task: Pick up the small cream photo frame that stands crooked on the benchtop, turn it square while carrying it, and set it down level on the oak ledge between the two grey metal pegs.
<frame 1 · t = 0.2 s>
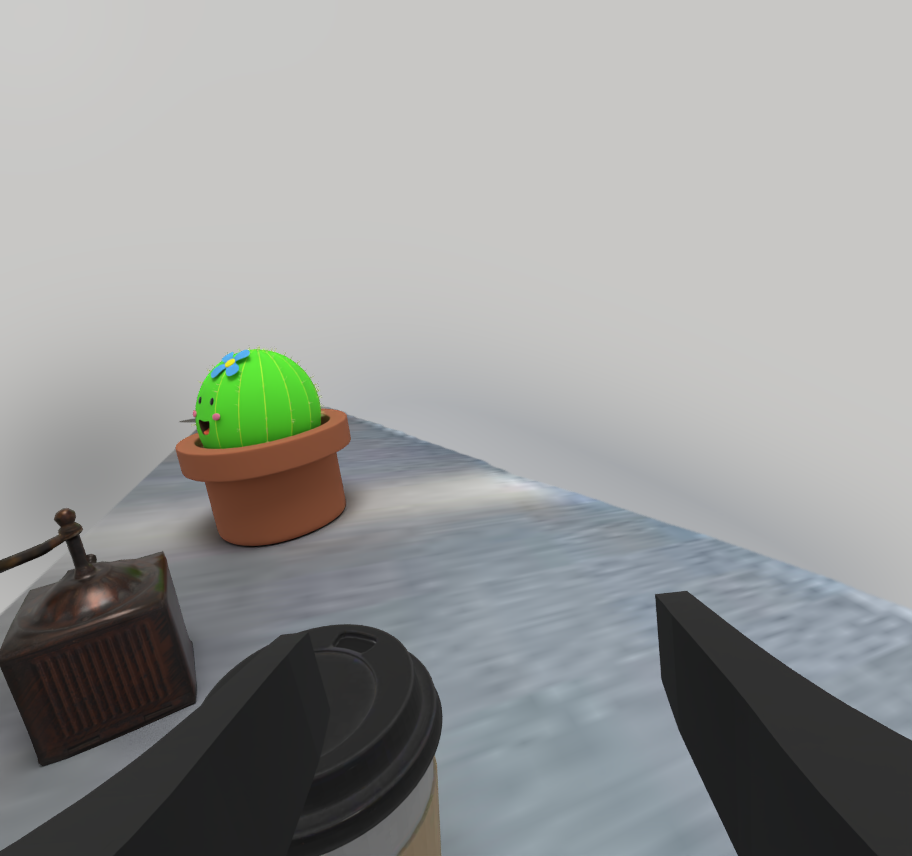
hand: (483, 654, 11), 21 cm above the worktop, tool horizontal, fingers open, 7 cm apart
pepper mill: (91, 708, 43), on the worktop
potted cactus: (284, 520, 76), on the worktop
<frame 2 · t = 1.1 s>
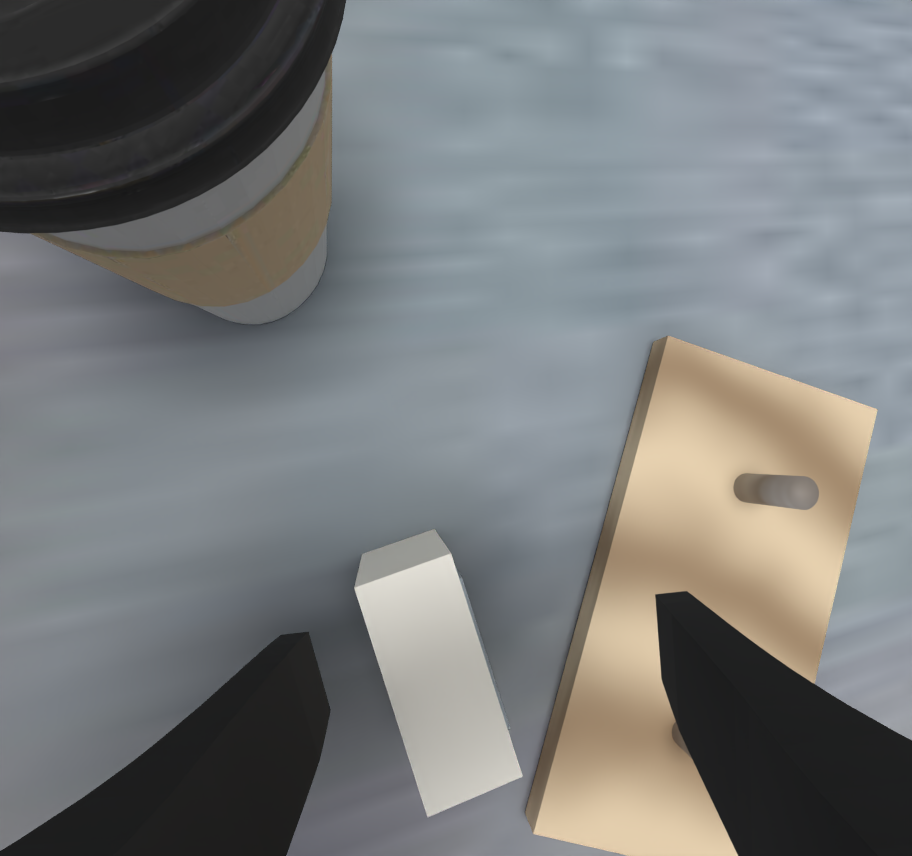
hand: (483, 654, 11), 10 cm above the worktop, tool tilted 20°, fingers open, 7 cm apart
coffee cup: (249, 254, 21), on the worktop
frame: (425, 624, 21), on the worktop
ledge: (699, 599, 23), on the worktop
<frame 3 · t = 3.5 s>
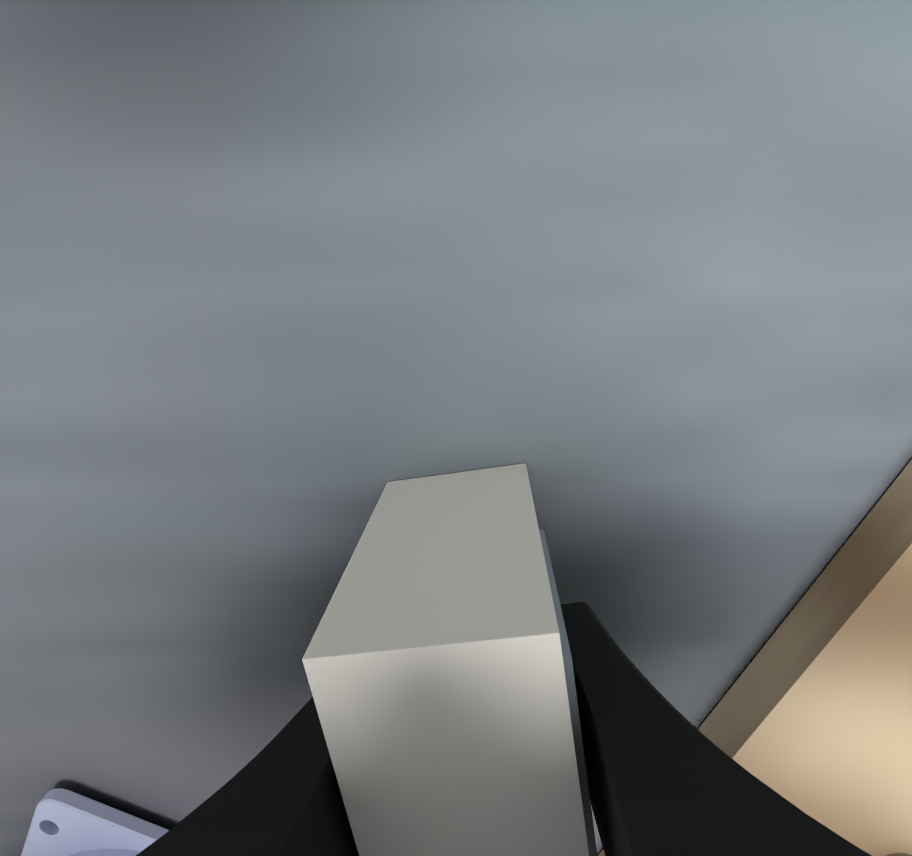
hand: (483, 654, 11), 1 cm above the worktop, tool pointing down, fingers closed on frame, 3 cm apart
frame: (480, 613, 12), on the worktop, touching gripper
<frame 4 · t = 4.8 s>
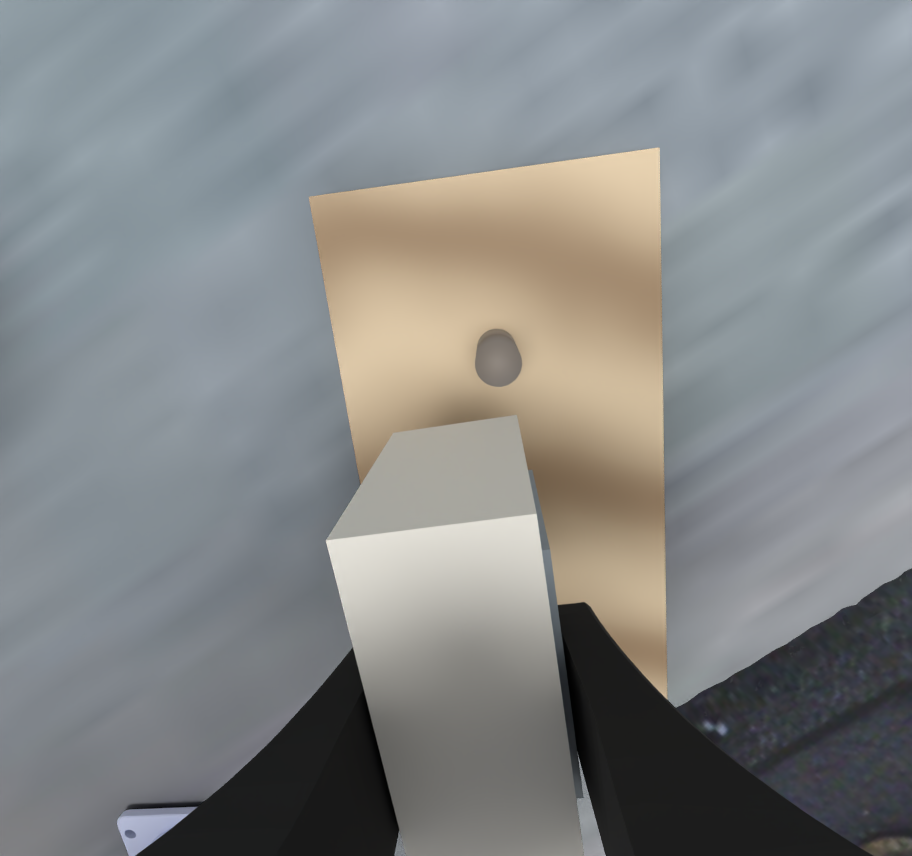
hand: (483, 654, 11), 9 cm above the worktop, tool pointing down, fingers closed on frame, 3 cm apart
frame: (477, 554, 14), point 6 cm above the worktop, touching gripper
ledge: (509, 483, 19), on the worktop
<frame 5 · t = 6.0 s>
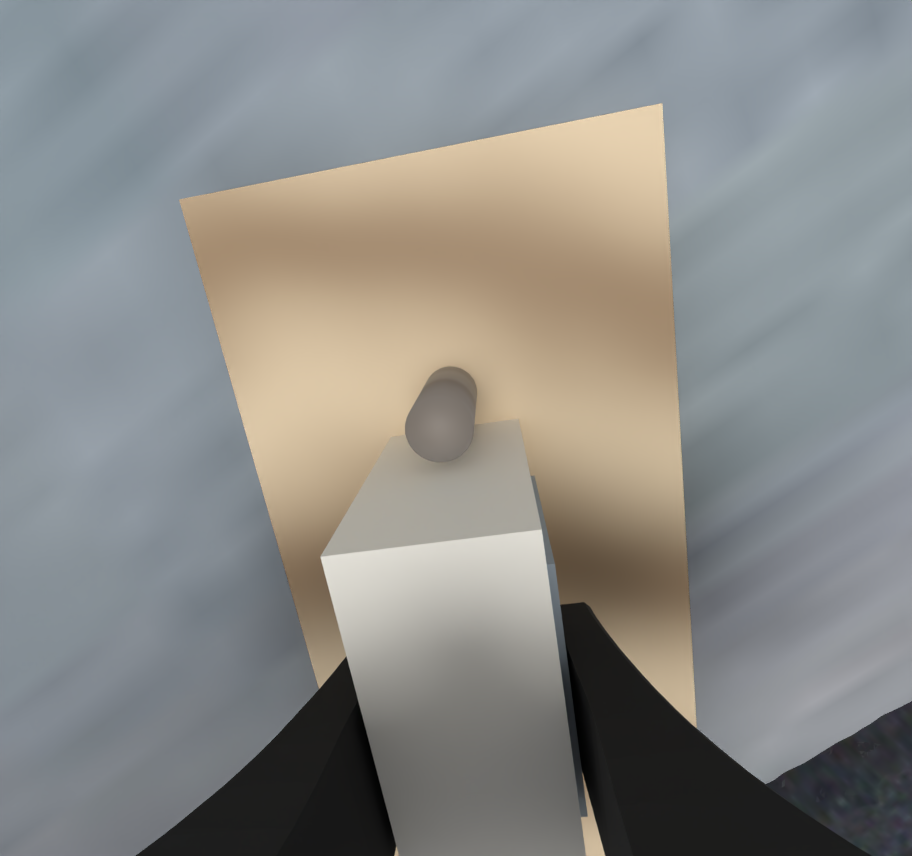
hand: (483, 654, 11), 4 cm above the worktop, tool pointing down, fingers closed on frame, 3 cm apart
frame: (477, 560, 13), point 1 cm above the worktop, touching gripper, ledge
ledge: (484, 559, 15), on the worktop
when the fingers open (4 cm above the worktop, at t = 6.5 s): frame stays where it is, resting on ledge.
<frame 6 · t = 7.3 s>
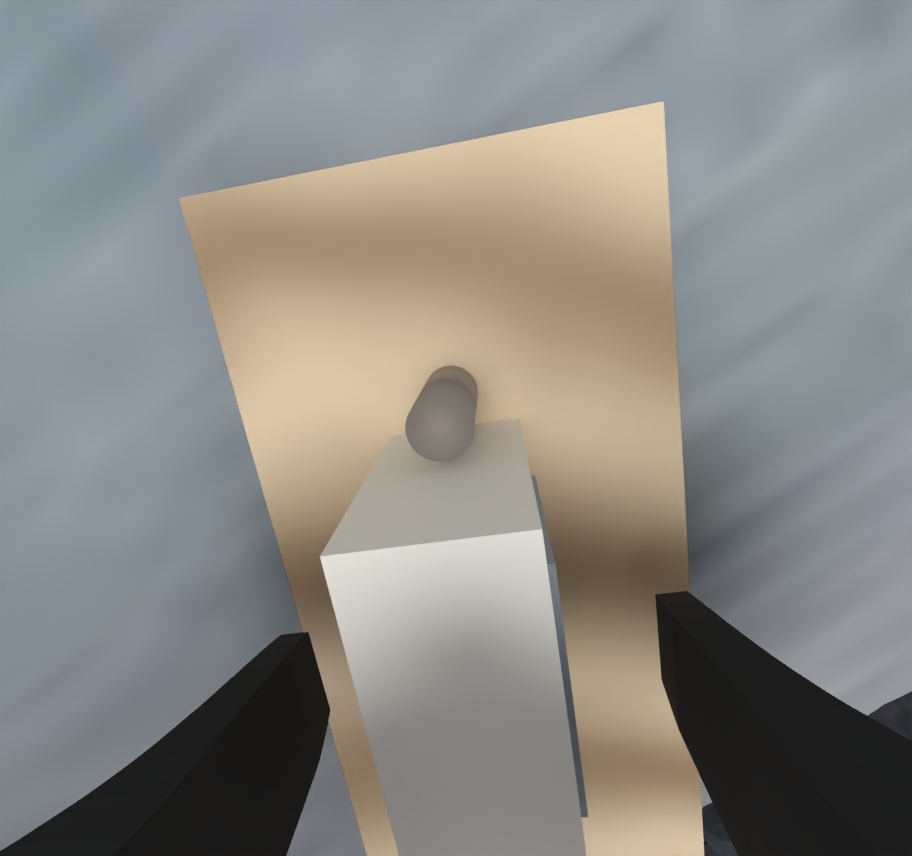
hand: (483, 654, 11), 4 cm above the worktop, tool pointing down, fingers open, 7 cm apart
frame: (477, 560, 13), point 1 cm above the worktop, touching ledge
ledge: (484, 559, 15), on the worktop
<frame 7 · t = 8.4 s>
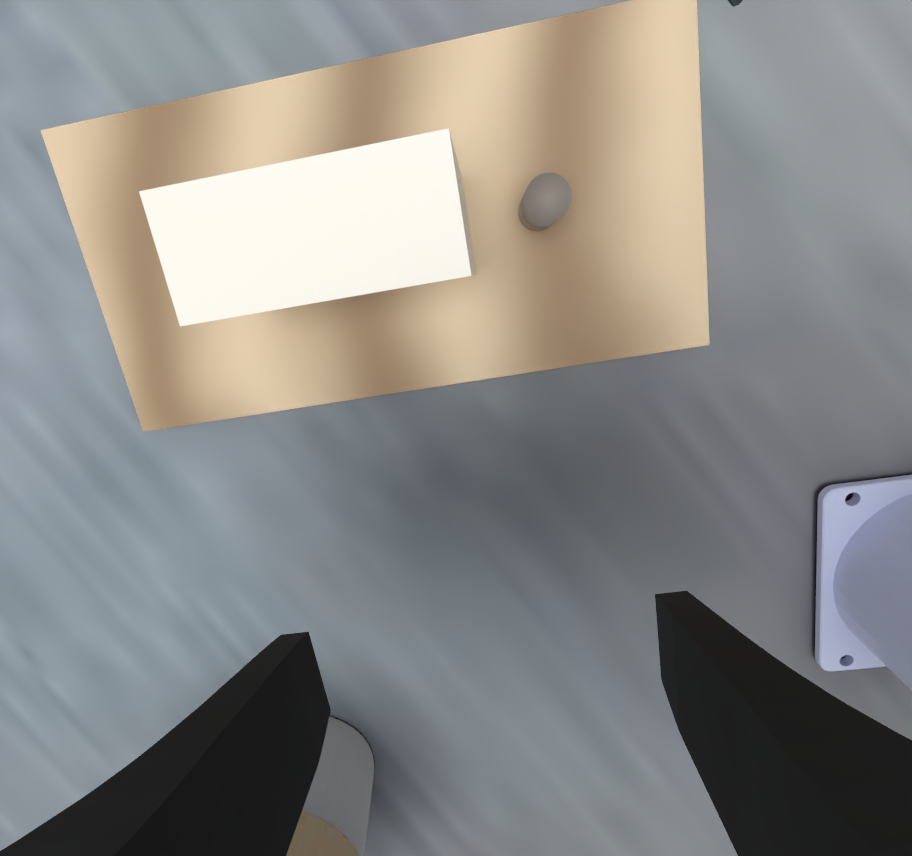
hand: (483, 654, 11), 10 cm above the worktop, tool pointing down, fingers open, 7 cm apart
coffee cup: (317, 758, 25), on the worktop
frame: (361, 245, 17), point 1 cm above the worktop, touching ledge
ledge: (388, 241, 18), on the worktop
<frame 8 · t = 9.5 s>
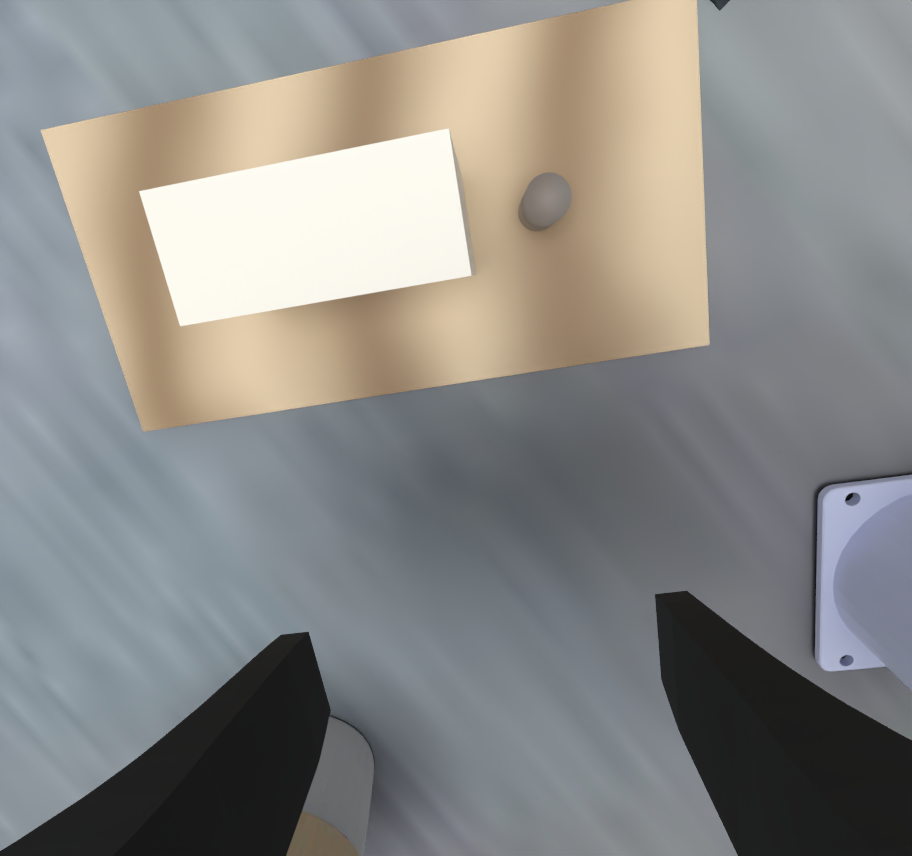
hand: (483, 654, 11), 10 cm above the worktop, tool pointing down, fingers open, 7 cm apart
coffee cup: (317, 758, 25), on the worktop
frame: (362, 245, 17), point 1 cm above the worktop, touching ledge
ledge: (388, 241, 18), on the worktop
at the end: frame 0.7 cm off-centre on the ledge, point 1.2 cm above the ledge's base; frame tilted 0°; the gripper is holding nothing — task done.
